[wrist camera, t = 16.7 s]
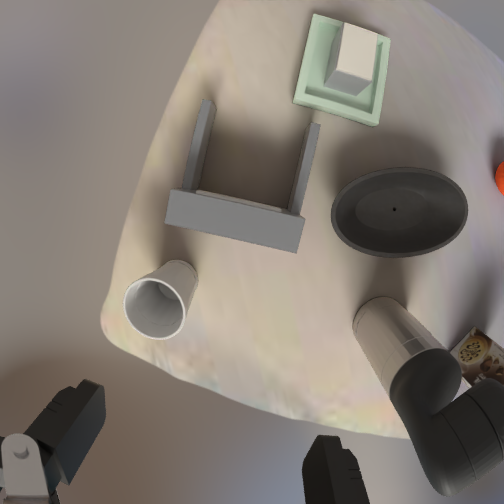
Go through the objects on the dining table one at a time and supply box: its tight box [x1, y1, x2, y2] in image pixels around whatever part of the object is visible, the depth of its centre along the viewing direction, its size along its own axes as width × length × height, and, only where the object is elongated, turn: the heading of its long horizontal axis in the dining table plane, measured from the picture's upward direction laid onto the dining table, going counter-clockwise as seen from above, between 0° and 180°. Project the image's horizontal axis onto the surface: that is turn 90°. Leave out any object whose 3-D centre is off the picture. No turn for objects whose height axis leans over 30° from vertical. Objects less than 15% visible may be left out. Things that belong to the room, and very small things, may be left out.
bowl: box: [331, 167, 468, 258], centre depth 40 cm, size 12×22×6 cm, turn 95°
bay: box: [165, 99, 320, 253], centre depth 38 cm, size 15×16×10 cm
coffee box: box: [450, 326, 504, 389], centre depth 40 cm, size 9×6×16 cm
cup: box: [123, 260, 198, 340], centre depth 41 cm, size 8×8×12 cm
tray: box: [293, 14, 391, 127], centre depth 38 cm, size 12×15×2 cm
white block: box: [324, 22, 378, 96], centre depth 34 cm, size 5×9×8 cm, turn 167°
